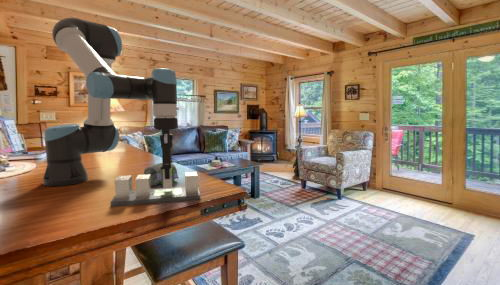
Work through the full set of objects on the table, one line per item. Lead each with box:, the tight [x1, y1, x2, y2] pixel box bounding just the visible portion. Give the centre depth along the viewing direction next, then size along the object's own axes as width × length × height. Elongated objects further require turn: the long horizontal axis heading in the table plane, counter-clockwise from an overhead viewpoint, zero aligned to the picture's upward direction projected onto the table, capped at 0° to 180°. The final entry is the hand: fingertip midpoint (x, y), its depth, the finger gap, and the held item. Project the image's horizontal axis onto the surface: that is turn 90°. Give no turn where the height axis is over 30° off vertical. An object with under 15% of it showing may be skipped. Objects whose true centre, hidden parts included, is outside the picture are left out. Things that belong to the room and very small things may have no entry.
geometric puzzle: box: [157, 167, 180, 186], centre depth 90 cm, size 7×7×8 cm
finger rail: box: [110, 171, 201, 208], centre depth 89 cm, size 11×27×8 cm, turn 105°
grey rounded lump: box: [143, 162, 178, 187], centre depth 108 cm, size 14×10×10 cm
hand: (168, 184), depth 90 cm, fingers closed on geometric puzzle, 8 cm apart
